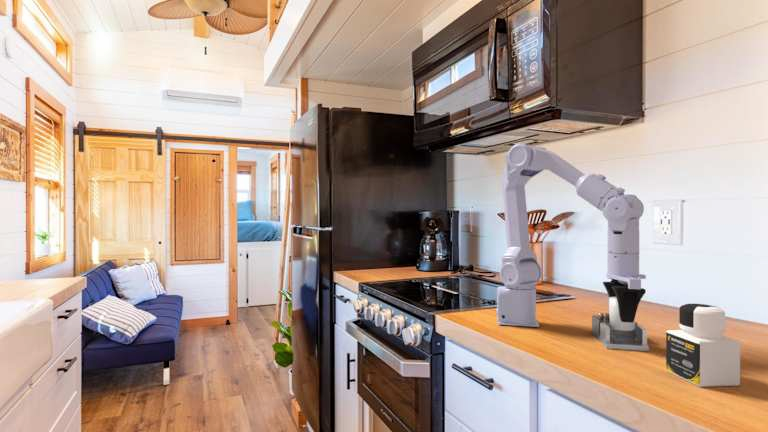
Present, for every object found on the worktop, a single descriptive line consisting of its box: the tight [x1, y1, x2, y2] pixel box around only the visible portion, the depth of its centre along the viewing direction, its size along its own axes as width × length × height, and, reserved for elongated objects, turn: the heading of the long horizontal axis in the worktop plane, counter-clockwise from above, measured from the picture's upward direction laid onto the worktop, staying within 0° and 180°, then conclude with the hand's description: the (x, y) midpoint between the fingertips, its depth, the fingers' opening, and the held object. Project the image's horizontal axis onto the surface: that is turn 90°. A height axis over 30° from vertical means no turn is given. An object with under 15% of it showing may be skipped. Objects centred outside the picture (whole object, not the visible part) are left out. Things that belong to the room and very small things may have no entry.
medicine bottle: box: [665, 303, 741, 388], centre depth 70 cm, size 7×7×12 cm
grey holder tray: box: [591, 312, 650, 352], centre depth 91 cm, size 8×12×5 cm, turn 167°
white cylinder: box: [608, 296, 636, 331], centre depth 88 cm, size 5×5×7 cm
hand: (623, 318), depth 88 cm, fingers closed on white cylinder, 5 cm apart
